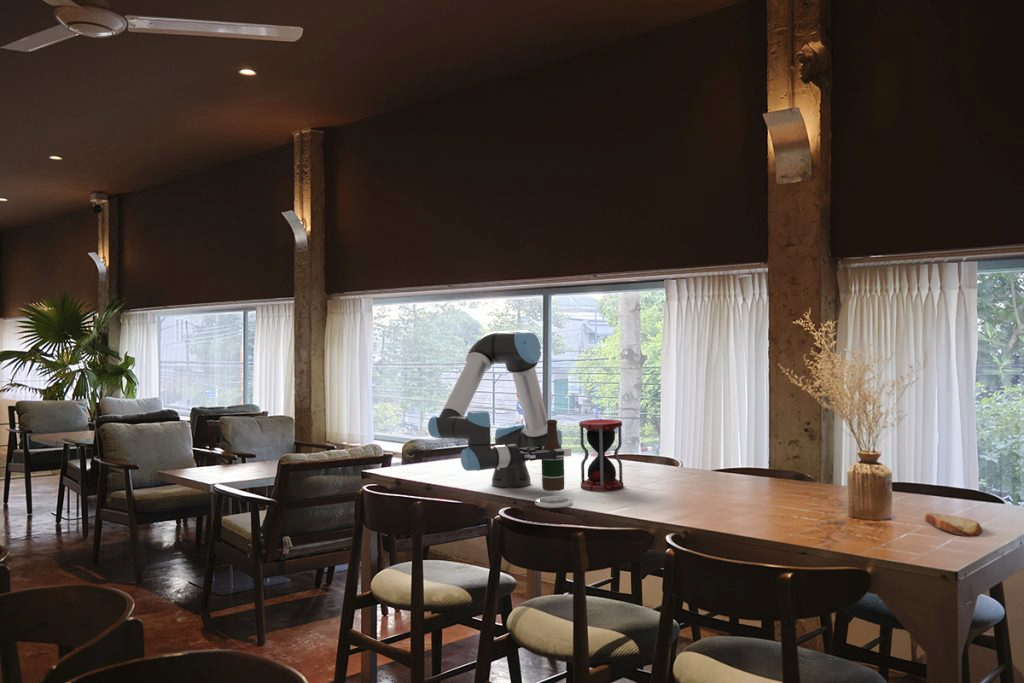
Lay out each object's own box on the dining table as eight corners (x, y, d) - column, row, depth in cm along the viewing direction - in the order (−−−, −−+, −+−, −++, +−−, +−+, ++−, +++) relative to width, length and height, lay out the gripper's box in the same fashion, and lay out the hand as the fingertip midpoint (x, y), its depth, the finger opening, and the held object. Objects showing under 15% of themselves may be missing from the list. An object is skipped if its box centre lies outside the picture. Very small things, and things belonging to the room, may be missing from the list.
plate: (535, 499, 292) (535, 496, 292) (572, 499, 291) (572, 495, 291) (534, 508, 279) (534, 503, 279) (573, 507, 278) (572, 503, 278)
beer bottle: (562, 491, 280) (561, 421, 280) (540, 491, 282) (538, 421, 282) (566, 487, 288) (564, 418, 288) (544, 486, 290) (542, 418, 289)
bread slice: (927, 518, 253) (927, 506, 253) (993, 527, 240) (993, 514, 240) (906, 529, 240) (906, 516, 240) (974, 539, 228) (974, 526, 228)
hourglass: (580, 491, 305) (578, 424, 304) (581, 483, 321) (579, 419, 320) (624, 491, 303) (622, 423, 303) (622, 482, 319) (621, 418, 319)
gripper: (493, 463, 286) (550, 457, 296) (520, 471, 268) (580, 465, 278) (492, 441, 286) (550, 436, 296) (519, 448, 268) (579, 442, 278)
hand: (564, 450), depth 287 cm, fingers closed on beer bottle, 7 cm apart
